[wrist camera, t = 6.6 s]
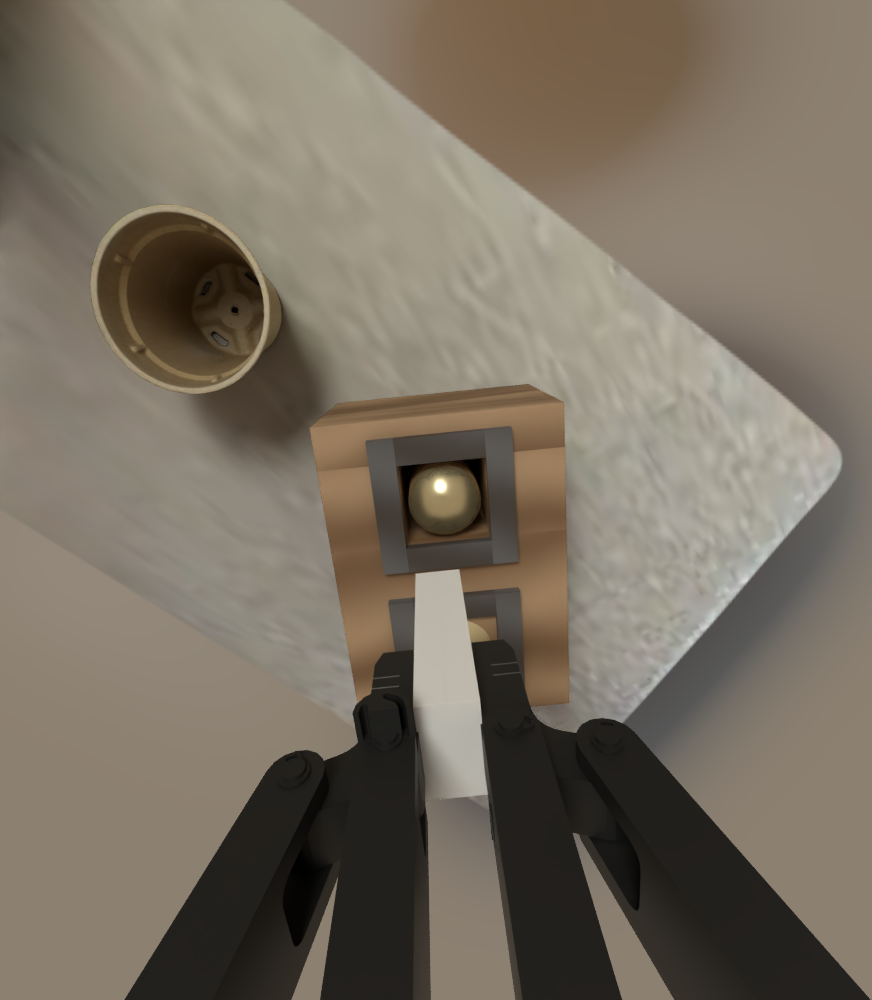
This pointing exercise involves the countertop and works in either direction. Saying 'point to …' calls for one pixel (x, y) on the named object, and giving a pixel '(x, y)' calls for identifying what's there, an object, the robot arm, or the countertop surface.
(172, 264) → the flower pot
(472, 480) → the peg
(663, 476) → the countertop surface
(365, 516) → the socket block
